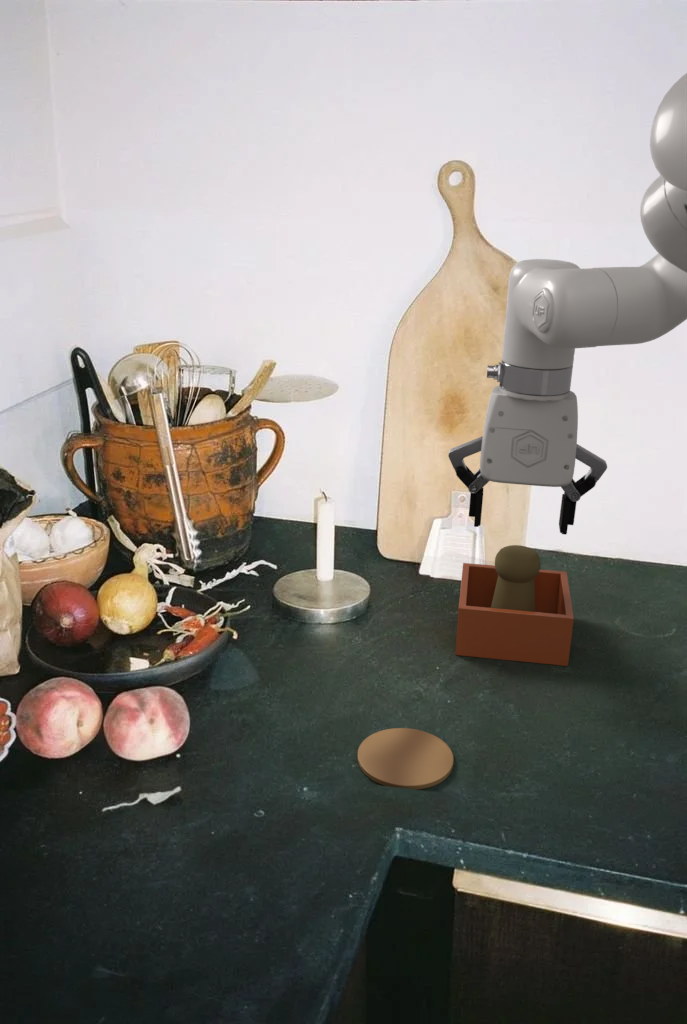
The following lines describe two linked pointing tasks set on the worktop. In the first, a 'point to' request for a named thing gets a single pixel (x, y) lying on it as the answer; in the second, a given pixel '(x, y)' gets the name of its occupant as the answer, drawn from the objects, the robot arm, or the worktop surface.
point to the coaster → (405, 758)
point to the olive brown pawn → (516, 578)
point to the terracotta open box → (514, 619)
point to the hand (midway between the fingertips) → (519, 526)
